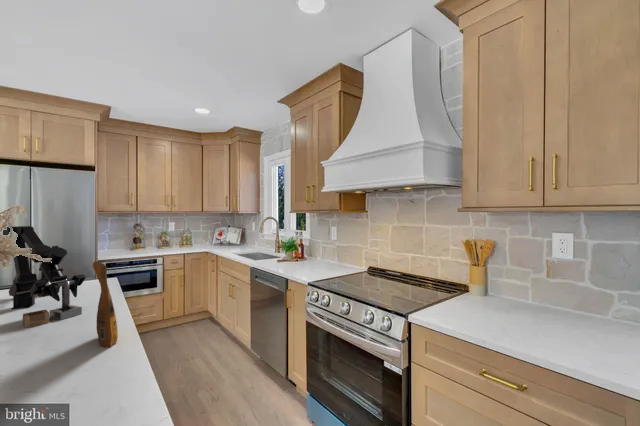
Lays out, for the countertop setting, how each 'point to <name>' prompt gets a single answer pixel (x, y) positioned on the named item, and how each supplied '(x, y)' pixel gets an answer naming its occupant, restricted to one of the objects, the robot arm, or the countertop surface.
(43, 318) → the wooden square frame
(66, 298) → the chuck key
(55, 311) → the block
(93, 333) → the countertop surface
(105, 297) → the curved wooden sculpture
